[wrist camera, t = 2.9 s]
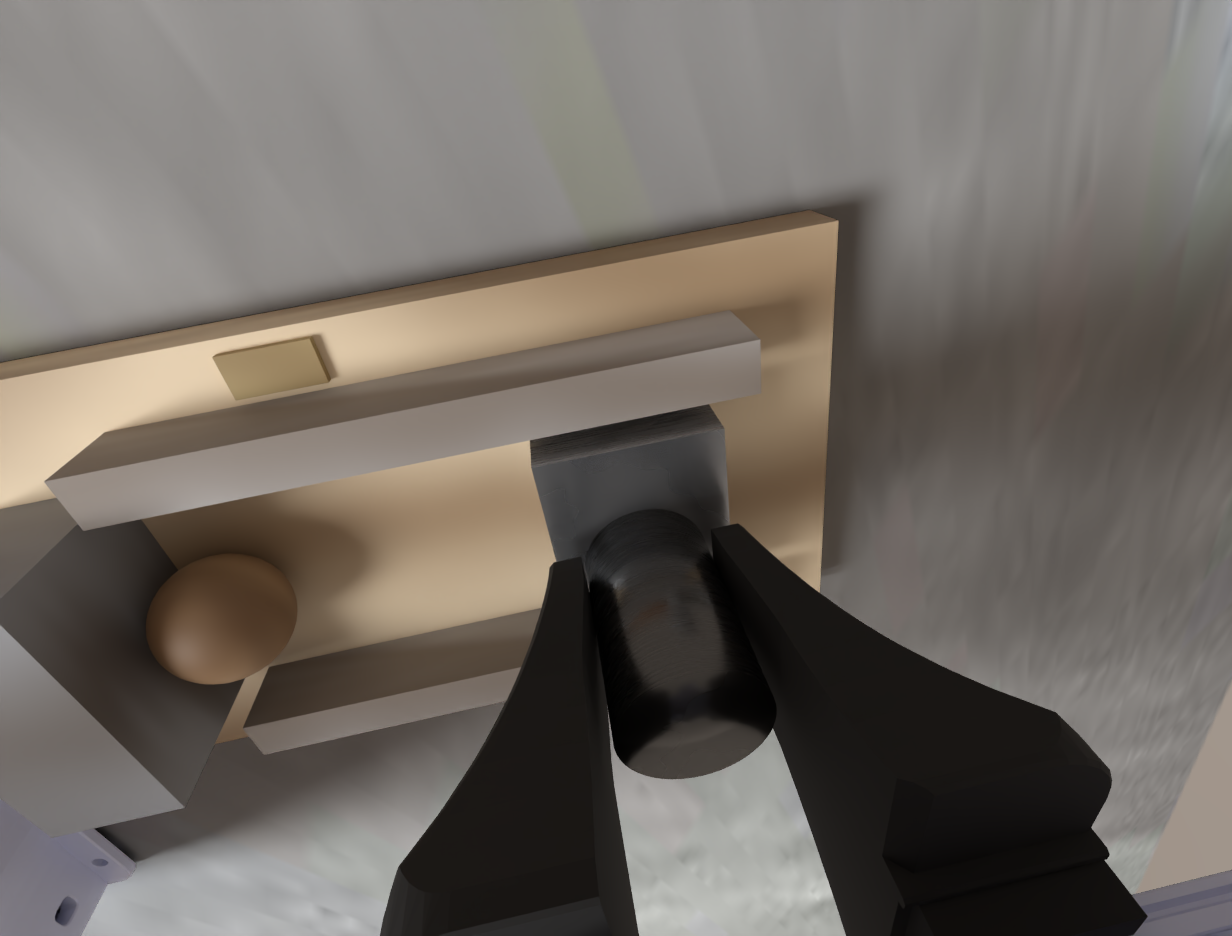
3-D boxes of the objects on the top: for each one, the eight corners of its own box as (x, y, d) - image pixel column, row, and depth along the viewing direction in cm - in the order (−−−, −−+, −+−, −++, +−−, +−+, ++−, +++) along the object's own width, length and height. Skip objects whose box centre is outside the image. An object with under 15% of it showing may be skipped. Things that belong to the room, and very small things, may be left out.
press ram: (709, 568, 17) (807, 797, 12) (575, 597, 17) (606, 845, 12) (694, 381, 14) (817, 571, 8) (528, 415, 14) (540, 632, 8)
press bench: (800, 579, 21) (883, 717, 16) (184, 713, 20) (83, 902, 15) (809, 210, 14) (953, 262, 10) (-104, 382, 13) (-437, 534, 9)
